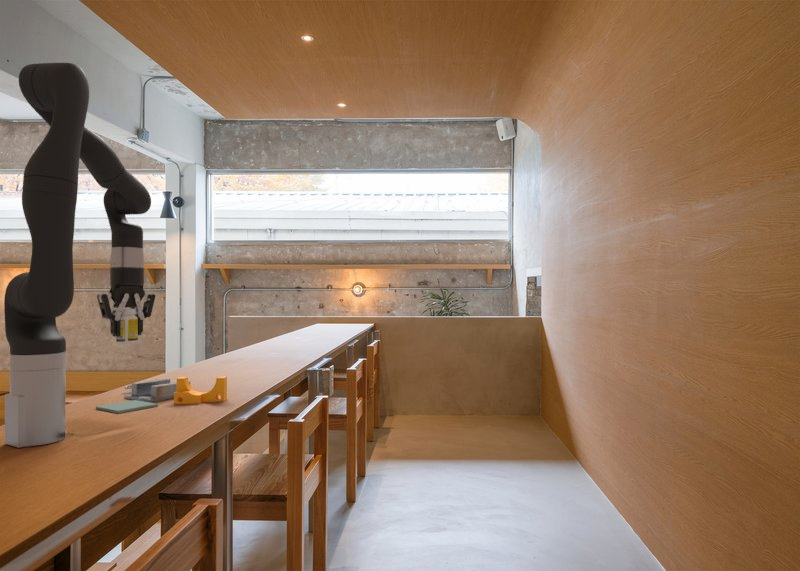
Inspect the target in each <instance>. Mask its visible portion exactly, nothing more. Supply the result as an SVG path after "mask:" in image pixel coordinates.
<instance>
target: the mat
mask: <svg viewBox="0 0 800 571" xmlns="http://www.w3.org/2000/svg"><path fill="white" fill-rule="evenodd" d="M158 406H159V404H158V403H156V402H152V403H150V402H144V401H138V400H128V401H121V402H114V403H110V404H109V403H108V404H104V405H103V404H102V405H96V406H95V410H98V411H104V412H109V413H114V414H122V413H129V412H134V411H140V410H144V409H145V410H146V409H150V408H156V407H158Z"/></svg>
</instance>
